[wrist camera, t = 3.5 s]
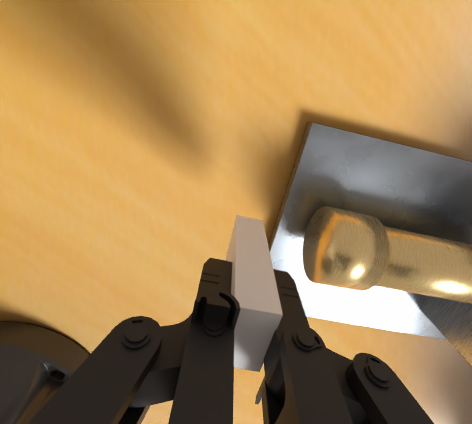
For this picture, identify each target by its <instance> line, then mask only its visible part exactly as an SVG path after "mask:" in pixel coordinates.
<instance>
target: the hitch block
mask: <svg viewBox="0 0 472 424" xmlns="http://www.w3.org/2000/svg"><path fill="white" fill-rule="evenodd" d="M324 206H328V207H333V208H338V209H342V210H347V211H352V212H356V213H361V214H366V215H370V216H374V217H376V218H377V219H378V220H379V221H380V222H381V223H382V224H383V226H385V227H390V228H395V229H400V230H405V231H409V232H414V233H419V234H424V235H428V236H433V237H438V238H443V239H447V240H452V241H457V242H462V243H466V244H471V245H472V162H471V161H466V160H462V159H458V158H454V157H450V156H446V155H442V154H438V153H434V152H430V151H426V150H422V149H418V148H414V147H410V146H405V145H401V144H397V143H393V142H389V141H385V140H381V139H377V138H373V137H369V136H365V135H361V134H357V133H353V132H349V131H344V130H340V129H336V128H332V127H328V126H324V125H320V124H316V123H312V122H308V124H307V127H306V130H305V134H304V137H303V140H302V143H301V146H300V149H299V152H298V155H297V158H296V162H295V165H294V168H293V171H292V174H291V177H290V180H289V183H288V186H287V190H286V193H285V196H284V199H283V202H282V205H281V208H280V211H279V214H278V218H277V221H276V224H275V227H274V230H273V233H272V236H271V239H270V242H269V246H268V247H269V252H270V257H271V261H272V266H273V269H275V270H280V271H285V272H288V273H289V274H290V275H291V277H292V278H293V279H294V280H295V283H296V286H297V291H298V293H299V296H300V299H301V302H302V305H303V308H304V312H305V315H306V316H307V317H312V318H318V319H324V320H330V321H336V322H342V323H348V324H354V325H360V326H366V327H372V328H378V329H384V330H390V331H396V332H402V333H408V334H414V335H420V336H426V337H432V338H438V339H444V340H448V341H449V342H450V343H451V344H452V345H453V346H454V347H455V348H456V349H457V351H458V352H459V353H460V354H461V355H462V356H463V357H464V358H465V359H466V360H467V361H468V362H469V364H470V365H471V366H472V304H471V303H465V302H460V301H455V300H449V299H444V298H438V297H433V296H427V295H422V294H417V293H411V292H406V291H400V290H395V289H390V288H384V287H379V286H373V287H372V288H370V289H368V290H366V291H356V290H351V289H345V288H340V287H334V286H329V285H323V284H318V283H313V282H311V281H310V280H309V279H308V278H307V276H306V274H305V271H304V267H303V260H302V250H303V242H304V237H305V233H306V229H307V227H308V224H309V222H310V220H311V218H312V216H313V215H314V214H315V212H316V211H317V210H318V209H320V208H321V207H324Z"/></svg>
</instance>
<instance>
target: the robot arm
mask: <svg viewBox="0 0 472 424" xmlns="http://www.w3.org/2000/svg"><path fill="white" fill-rule="evenodd" d="M263 362H264V369H265V377H264V379H263V381H262V384H261V386H260V388H259V391H258V393H257V395H256V402H255V404H259V402H260V400H261V397H262V407H263V420H264V424H434V423H433V422H432V420H431V419H430V418H429V416H428V415H427V414H426V413H425V411H424V410H423V409H422V407H421V406H420V405H419V404H418V402H417V401H416V400H415V398H414V397H413V396H412V395H411V393H410V392H409V391H408V389H407V388H406V387H405V386H404V384H403V383H402V382H401V380H400V379H399V378H398V377H397V375H396V374H395V373H394V372H393V371H392V369H391V368H390V367H389V366H388V365H387V364H386V363H384V362H383V361H382V360H380V359H379V358H377V357H375V356H373V355H371V354H367V353H359V354H357V355H355V357H354V358H353V360H350V359H348V358H346V357H344V356H341V355H339V354H337V353H335V352H333V351H331V350H329V349H328V348H326V346H325V344H324V342H323V340H322V339H321V337H320V336H319V335H318V334H317V333H316V332H315V331H314V330H313V329H311V328H310V327H309V324H308V321H307V318H306V315H305V312H304V308H303V305H302V302H301V299H300V296H299V293H298V291H297V286H296V283H295V280H294V279H293V278H292V277H291V275H290V274H289V273H288V272H285V271H280V270H275V269H273V266H272V261H271V257H270V252H269V247H268V242H267V238H266V233H265V228H264V223H263V221H262V220H257V219H252V218H247V217H243V216H238V215H236V219H235V224H234V228H233V232H232V236H231V240H230V244H229V248H228V252H227V256H226V261H224V260H219V259H214V258H209V259H208V260H207V261H206V262H205V263H204V266H203V270H202V275H201V279H200V284H199V288H198V293H197V297H196V300H195V304H194V308H193V312H192V314H191V315H190V316H189V318H187V319H186V320H185V321H183V322H181V323H179V324H175V325H170V326H161V327H160V325H159V324H158V322H156V321H155V320H153V319H152V318H149V317H144V316H137V317H131V318H129V319H126V320H124V321H122V322H121V323H119V324H118V325H117V326H116V327H115V328H114V329H113V330H112V331H111V332H110V333H109V334H108V335H107V336H106V338H105V339H104V340H103V341H102V342H101V343H100V344H99V345H98V346H97V348H96V349H95V350H94V351H93V352H92V353H91V354H90V355H89V354H88V353H87V352H86V351H85V350H84V349H83V348H81V347H80V346H79V345H77V344H76V343H74V342H73V341H71V340H70V339H68V338H66V337H64V336H62V335H60V334H58V333H56V332H53V331H51V330H48V329H45V328H42V327H38V326H35V325H30V324H25V323H18V322H0V424H141V422H142V420H143V419H144V417H145V415H146V413H147V411H148V409H149V407H150V405H154V404H158V403H162V402H166V401H171V400H173V405H172V409H171V414H170V418H169V423H168V424H233V382H234V368H239V369H245V370H251V371H258V372H260V370H261V367H262V365H263Z"/></svg>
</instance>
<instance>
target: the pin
mask: <svg viewBox="0 0 472 424" xmlns="http://www.w3.org/2000/svg"><path fill="white" fill-rule="evenodd" d="M302 260H303V267H304V271H305V274H306V276H307V278H308V279H309V280H310V281H311V282H313V283H318V284H323V285H329V286H334V287H340V288H345V289H351V290H356V291H366V290H368V289H370V288H372V287H373V286H379V287H384V288H390V289H395V290H400V291H406V292H411V293H417V294H422V295H427V296H433V297H438V298H444V299H449V300H455V301H460V302H465V303H471V304H472V245H471V244H466V243H462V242H457V241H452V240H447V239H443V238H438V237H433V236H428V235H424V234H419V233H414V232H409V231H405V230H400V229H395V228H390V227H385V226H383V224H382V223H381V222H380V221H379V220H378V219H377V218H376V217H374V216H370V215H366V214H361V213H356V212H352V211H347V210H342V209H338V208H333V207H328V206H324V207H321V208H320V209H318V210H317V211H316V212H315V214H314V215H313V216H312V218H311V220H310V222H309V224H308V227H307V229H306V233H305V237H304V242H303V250H302Z"/></svg>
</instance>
